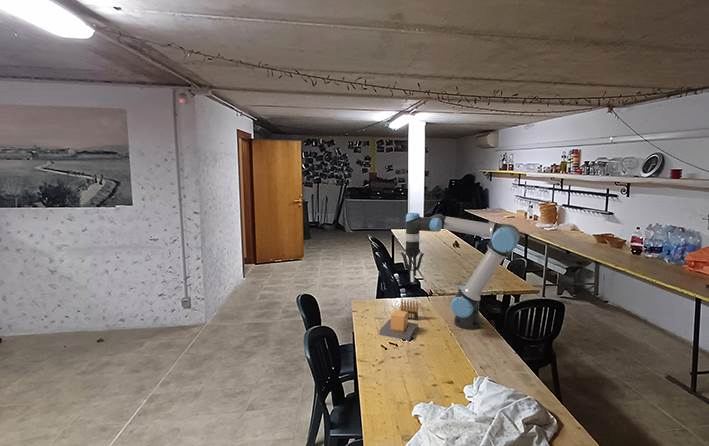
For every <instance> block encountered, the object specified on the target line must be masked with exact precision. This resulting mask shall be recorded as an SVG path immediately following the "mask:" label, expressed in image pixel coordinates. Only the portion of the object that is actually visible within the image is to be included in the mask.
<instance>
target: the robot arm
mask: <svg viewBox="0 0 709 446" xmlns="http://www.w3.org/2000/svg"><path fill="white" fill-rule="evenodd" d="M441 230H447V231H452V232H456V233H463V234H467V235H472V236H473V235H474V236H478V237H479V236H480V237H483V238H488V239H490V240H489V242H488V244H487V245H486V247H487V251H486V252H485V254H484V256H483V257H482V258H481V260H480V262H479V263H478V265H477V267H476V268H475V270H474V272H473V273H472V275H471V276H470V278H469V279H468V281H467V283H462V284H459V285H458V288H457V289H458V290H457V293H456V295H455V296H454V297H453V298H452V300H451V302H450V310H451V312H452V313H453V314H454V318H453V323H454V325H455V326H456V327H458V328H461V329H466V330H477V329H480V328H481V327H482V319H481V316H480V310H479V309H480V301H481V298H482V297H481V294H482V293H483V291H484V289H485V288H486V287H487V284H488V283H489V282H490V281H491V279H492V277H493V275H494V274H495V272H497V269H498V268H499V266H500V265H501V263H502V261H504V259H508V258H509V257H510V255H511V254H512V252H513V251H514V250H515V248H516V247H517V246H518V243H519V242H520V239H521V233H520V230H519V229H518V227H516V225H513V224H508V223H500V222H494V223H488V222H483V221H476V220H470V219H464V218H459V217H454V216H453V217H451V216H445V215H443V214H441V213H435V214H434V215H432V216H429V217H428V216H427V217H422V216H421V215H420V213H418V212H408V213H407V214H406V215H405V249H404V251H402V252H401V253H400V254H401V256H402V258H403V263H404V267H405V270H408V276H409V277H410V283H414V282H415V277H416V276H417V271H419V269H420V268H421V263H422V260H423V257H424V255H425V253H423V252H422V251H421V249H420V231H421V232H433V233H436V232H438V233H439V232H441ZM407 256H408V259H407ZM418 256H419V257H418ZM417 257H418V260H417Z"/></svg>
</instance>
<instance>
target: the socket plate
mask: <svg viewBox="0 0 709 446" xmlns="http://www.w3.org/2000/svg"><path fill="white" fill-rule="evenodd" d="M418 329H419V323H415V322H409V321H408V326H407V327H406V328H405V330H404V332H403V331H400V330H394V329H391V318H389V319H388V320H387V321H386V323H384V325H383V326H382V327H381V328H380V329H379V332H378V333H379V334H378V335H379V336H385V337H389V338H395V339H398V340H399V339H400V340H406V341H411V339H412V338H413V337H414V335H415V334H416V332H417V331H418Z"/></svg>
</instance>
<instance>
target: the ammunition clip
mask: <svg viewBox="0 0 709 446" xmlns="http://www.w3.org/2000/svg"><path fill="white" fill-rule="evenodd" d="M399 308H400V311H406V312H408V321H410V320H411V321H418V320H419V307H418V300H416V301H415V300H414V299H413V300H412V299H410V300H409V299H407V300H406V298H404V300H403V299H402V298H401V299H400V307H399Z"/></svg>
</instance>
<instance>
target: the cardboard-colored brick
mask: <svg viewBox="0 0 709 446" xmlns="http://www.w3.org/2000/svg"><path fill="white" fill-rule="evenodd" d="M390 319H391V329H394V330H400V331H403V332H404V330H405V328H406V327H407V326H408V322H409V319H408V312H406V311H400V310H398V309H395V310H394V311H393V312H392V313H391V315H390Z"/></svg>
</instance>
